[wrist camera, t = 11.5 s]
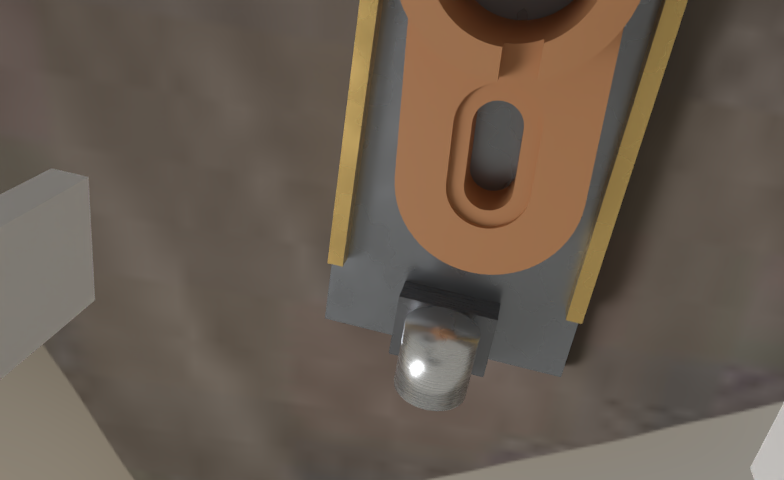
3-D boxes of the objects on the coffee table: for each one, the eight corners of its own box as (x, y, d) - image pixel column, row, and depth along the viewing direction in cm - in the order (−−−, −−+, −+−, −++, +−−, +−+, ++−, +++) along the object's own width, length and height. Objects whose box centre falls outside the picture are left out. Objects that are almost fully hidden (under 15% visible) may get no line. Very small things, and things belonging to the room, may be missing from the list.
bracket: (436, -179, 27) (402, -206, 21) (656, -165, 26) (687, -189, 20) (399, 234, 35) (366, 302, 29) (566, 261, 34) (568, 338, 28)
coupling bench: (414, -338, 26) (375, -407, 21) (771, -293, 25) (835, -353, 19) (330, 309, 39) (292, 374, 34) (560, 366, 38) (561, 445, 32)
